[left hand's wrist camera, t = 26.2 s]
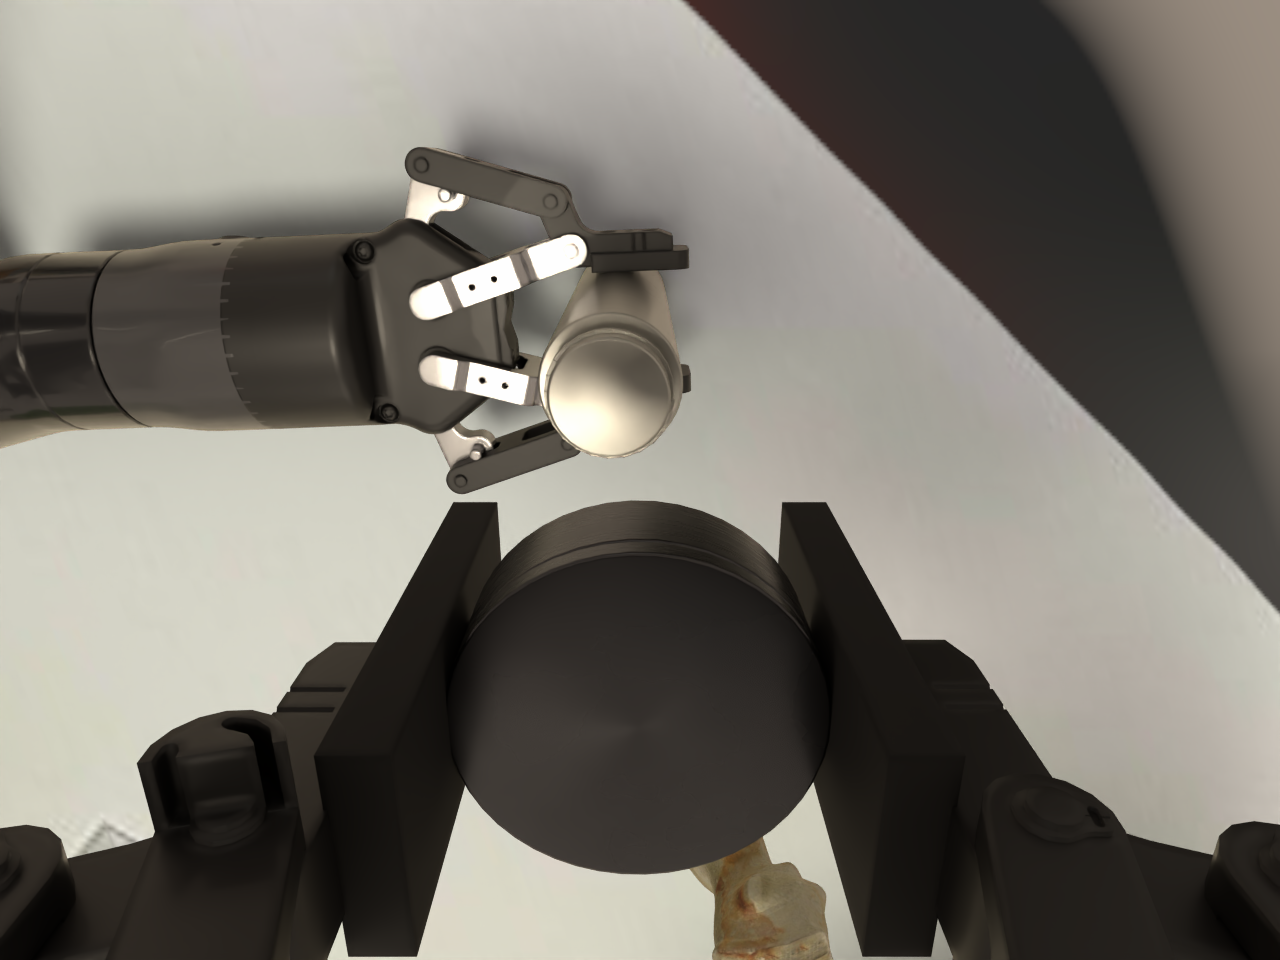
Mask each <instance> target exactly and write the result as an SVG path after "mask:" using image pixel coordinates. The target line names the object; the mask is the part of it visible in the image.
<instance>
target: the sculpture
mask: <svg viewBox="0 0 1280 960" xmlns="http://www.w3.org/2000/svg"><path fill="white" fill-rule="evenodd" d="M690 870H691V871H692V873H693V874H694V875H695V876H696V878H697V879H698V880H699V881H700V882H701V883H702V884H703V885H704V887H706V888H707V889H708V890H709V891H711V892H712V893H713V894H714V896H715V915H714V943H715V948H714V950H713V954H712V958H713V960H833V958H832V955H831V951H830V946H829V939H828V930H827V925H826V921H825V914H824V912H825V904H826V893H825V891H824V890H823V889H822V887H820V886H819V885H818V884H815V883H813V882H810V881H807V880H805V879H803V878H802V877H801V875H800V873H799V871H798V870H797V868H796V867H795V866H794V865H793V864H792V863H790V862H785V863H780V864H772V863H771V860H770V858H769V855H768V852H767V849H766V846H765V843H764V840H763V837H761V838H760V839H758V840H757V841H755V842H754V843H752V844H750V845H749V846H747V847H745V848H743V849H741V850H739V851H738V852H736V853H734V854H731V855H729V856H726V857H724V858H722V859H719V860H717V861H714V862H711V863H708V864H704V865H701V866H698V867H694V868H691V869H690Z"/></svg>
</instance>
